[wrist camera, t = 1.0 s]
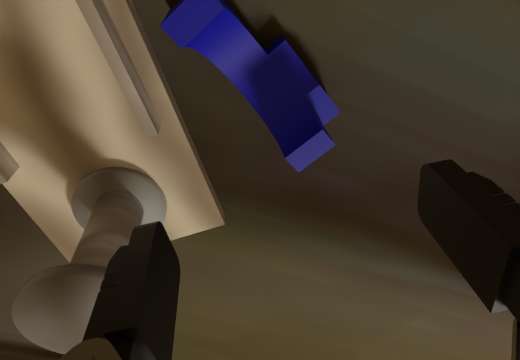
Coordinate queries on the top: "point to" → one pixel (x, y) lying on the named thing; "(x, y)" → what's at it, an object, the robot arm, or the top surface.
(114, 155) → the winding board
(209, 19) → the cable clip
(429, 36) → the top surface
